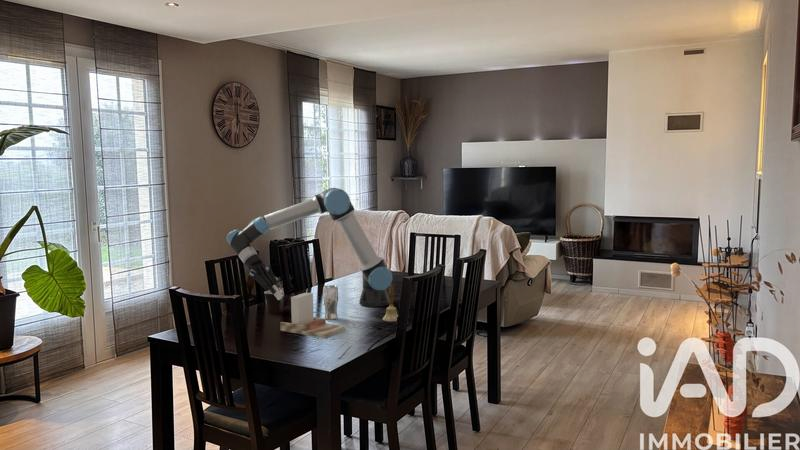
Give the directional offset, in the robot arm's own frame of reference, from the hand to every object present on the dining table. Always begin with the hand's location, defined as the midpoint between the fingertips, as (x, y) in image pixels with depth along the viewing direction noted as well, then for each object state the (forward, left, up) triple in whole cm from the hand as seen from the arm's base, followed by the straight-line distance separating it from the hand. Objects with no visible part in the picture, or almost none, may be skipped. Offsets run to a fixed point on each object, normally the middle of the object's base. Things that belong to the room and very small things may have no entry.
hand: (280, 298), depth 265 cm
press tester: (-15, +8, -12) cm, 21 cm away
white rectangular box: (-10, +6, -11) cm, 16 cm away
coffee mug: (+8, -26, -13) cm, 30 cm away
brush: (-49, -8, -13) cm, 51 cm away
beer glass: (-21, -11, -13) cm, 27 cm away
